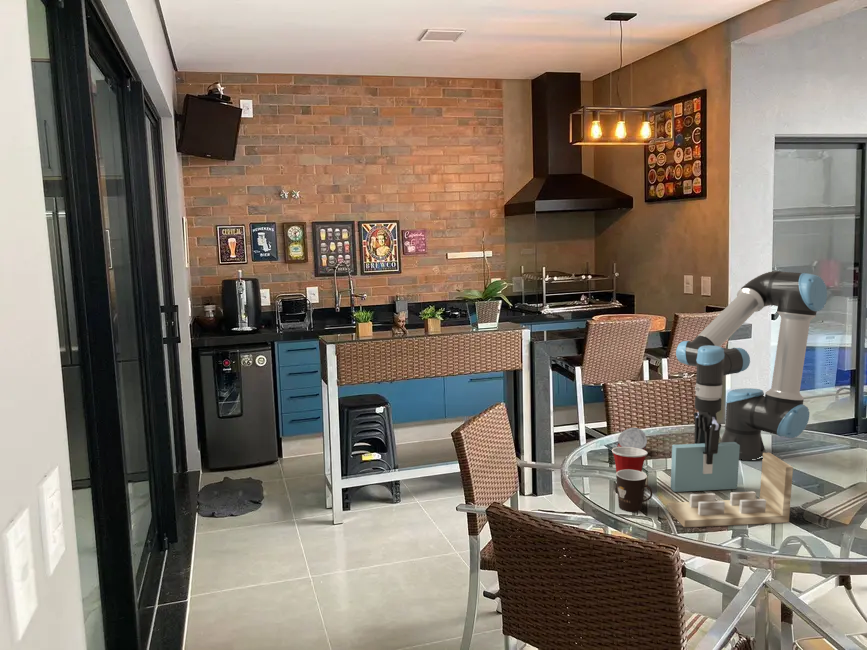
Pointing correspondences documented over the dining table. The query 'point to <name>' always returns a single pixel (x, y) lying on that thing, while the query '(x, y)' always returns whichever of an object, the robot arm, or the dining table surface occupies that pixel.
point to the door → (690, 467)
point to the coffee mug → (631, 489)
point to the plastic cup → (629, 458)
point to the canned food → (632, 439)
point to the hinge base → (742, 501)
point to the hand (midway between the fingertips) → (704, 470)
